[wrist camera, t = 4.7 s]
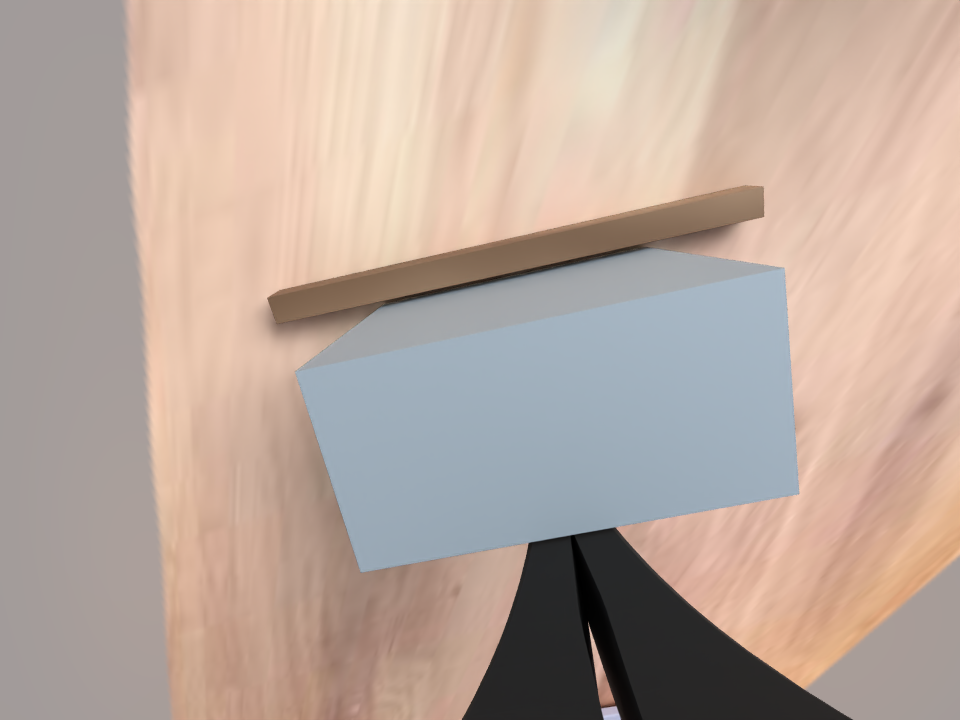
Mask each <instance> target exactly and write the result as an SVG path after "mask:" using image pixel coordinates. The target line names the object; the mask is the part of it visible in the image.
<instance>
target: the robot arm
mask: <svg viewBox="0 0 960 720" xmlns="http://www.w3.org/2000/svg"><path fill="white" fill-rule="evenodd" d="M588 623H589V625H588ZM589 626H590V629H591V632H592V635H593V638H594V641H595V644H596V647H597V650H598V653H599V656H600V659H601V662H602V665H603V668H604V671H605V674H606V677H607V680H608V683H609V686H610V689H611V692H612V695H613V698H614V701H615V703H616V706H613V707H606V708H601V706H600V701H599V696H598V689H597V681H596V674H595V667H594V660H593V653H592V646H591V639H590V632H589ZM462 720H852V719H851V718H849V717H847V716H846V715H844V714H842V713H841V712H839V711H837V710H836V709H834V708H833V707H831V706H829V705H828V704H826V703H825V702H823V701H821V700H820V699H818V698H817V697H815V696H814V695H812V694H810V693H809V692H807V691H806V690H804V689H802V688H801V687H800V686H798V685H797V684H795V683H794V682H792V681H791V680H789V679H788V678H786V677H785V676H784V675H782V674H781V673H779V672H778V671H776V670H775V669H773V668H772V667H771V666H769V665H768V664H766V663H765V662H763V661H762V660H760V659H759V658H758V657H756V656H755V655H753V654H752V653H750V652H749V651H747V650H746V649H745V648H743V647H742V646H741V645H740V644H738V643H737V642H736V641H734V640H733V639H732V638H730V637H729V636H728V635H727V634H725V633H724V632H723V631H721V630H720V629H719V628H718V627H716V626H715V625H714V624H713V623H712V622H710V621H709V620H708V619H707V618H705V617H704V616H703V615H702V614H701V613H699V612H698V611H697V610H696V609H695V608H694V607H692V606H691V605H690V604H689V603H688V602H687V601H686V600H685V599H683V598H682V597H681V596H680V595H679V594H678V593H677V592H676V591H675V590H674V589H673V588H672V587H671V586H670V585H668V584H667V583H666V582H665V581H664V580H663V579H662V578H661V577H660V576H659V575H658V574H657V573H656V572H655V571H654V570H653V569H652V568H651V567H650V566H649V565H648V564H647V563H646V562H645V560H644V559H643V558H642V557H641V556H640V555H639V554H638V553H637V552H636V551H635V550H634V549H633V548H632V546H631V545H630V544H629V543H628V542H627V541H626V540H625V538H624V537H623V536H622V535H621V534H620V532H619V531H618V530H617V529H616V528H615V527H613V528H608V529H602V530H597V531H591V532H586V533H580V534H574V535H569V536H563V537H558V538H552V539H547V540H541V541H535V542H530V543H529V544H528V549H527V555H526V559H525V563H524V567H523V571H522V575H521V579H520V583H519V586H518V590H517V593H516V596H515V599H514V602H513V605H512V608H511V611H510V614H509V617H508V620H507V623H506V626H505V628H504V631H503V634H502V636H501V639H500V641H499V644H498V646H497V648H496V651H495V653H494V656H493V658H492V660H491V662H490V665H489V667H488V669H487V671H486V673H485V675H484V677H483V679H482V681H481V684H480V686H479V688H478V690H477V692H476V694H475V696H474V698H473V700H472V702H471V704H470V706H469V708H468V709H467V711H466V713H465V715H464V717H463V718H462Z"/></svg>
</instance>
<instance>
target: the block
mask: <svg viewBox="0 0 960 720" xmlns="http://www.w3.org/2000/svg"><path fill="white" fill-rule="evenodd" d="M295 373H296V376H297V379H298V382H299V385H300V388H301V391H302V395H303V398H304V401H305V404H306V407H307V410H308V413H309V416H310V419H311V422H312V425H313V428H314V431H315V434H316V437H317V440H318V443H319V447H320V450H321V453H322V456H323V459H324V462H325V465H326V468H327V471H328V474H329V477H330V480H331V483H332V486H333V489H334V492H335V495H336V499H337V502H338V505H339V508H340V511H341V514H342V517H343V520H344V523H345V526H346V529H347V532H348V535H349V538H350V541H351V544H352V547H353V550H354V554H355V557H356V560H357V563H358V566H359V569H360V572H361V573H362V572H368V571H374V570H379V569H385V568H390V567H396V566H402V565H407V564H413V563H418V562H424V561H429V560H435V559H441V558H446V557H452V556H457V555H463V554H468V553H474V552H480V551H485V550H491V549H496V548H502V547H507V546H513V545H519V544H524V543H530V542H535V541H541V540H547V539H552V538H558V537H563V536H569V535H574V534H580V533H586V532H591V531H597V530H602V529H608V528H613V527H619V526H625V525H630V524H636V523H641V522H647V521H652V520H658V519H664V518H669V517H675V516H680V515H686V514H692V513H697V512H703V511H708V510H714V509H719V508H725V507H731V506H736V505H742V504H747V503H753V502H758V501H764V500H770V499H775V498H781V497H786V496H792V495H797V494H799V483H798V468H797V452H796V437H795V422H794V406H793V391H792V376H791V360H790V345H789V330H788V314H787V299H786V284H785V269H784V268H781V267H775V266H768V265H761V264H755V263H748V262H741V261H735V260H728V259H721V258H715V257H708V256H702V255H695V254H688V253H682V252H675V251H668V250H662V249H655V248H649V247H640V248H635V249H631V250H626V251H622V252H617V253H612V254H608V255H603V256H599V257H594V258H590V259H585V260H581V261H576V262H571V263H567V264H562V265H558V266H553V267H549V268H544V269H540V270H535V271H530V272H526V273H521V274H517V275H512V276H508V277H503V278H499V279H494V280H490V281H485V282H480V283H476V284H471V285H467V286H462V287H458V288H453V289H449V290H444V291H439V292H435V293H430V294H426V295H421V296H417V297H412V298H408V299H403V300H398V301H394V302H389V303H385V304H384V305H382V306H381V307H380V308H378V309H377V310H376V311H374V312H373V313H372V314H370V315H369V316H368V317H366V318H365V319H364V320H362V321H361V322H360V323H359V324H357V325H356V326H355V327H353V328H352V329H351V330H349V331H348V332H347V333H345V334H344V335H343V336H341V337H340V338H339V339H338V340H336V341H335V342H334V343H332V344H331V345H330V346H328V347H327V348H326V349H324V350H323V351H322V352H320V353H319V354H318V355H316V356H315V357H314V358H313V359H311V360H310V361H309V362H307V363H306V364H305V365H303V366H302V367H301V368H299V369H298V370H297V371H295Z"/></svg>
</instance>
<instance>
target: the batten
mask: <svg viewBox="0 0 960 720" xmlns="http://www.w3.org/2000/svg"><path fill="white" fill-rule="evenodd" d="M762 217H764V188H763V187H762V186H741V187H736V188H732V189H727V190H723V191H719V192H714V193H710V194H705V195H701V196H696V197H692V198H687V199H683V200H679V201H674V202H670V203H665V204H661V205H656V206H652V207H647V208H643V209H639V210H634V211H630V212H625V213H621V214H616V215H612V216H608V217H603V218H599V219H594V220H590V221H585V222H581V223H576V224H572V225H568V226H563V227H559V228H554V229H550V230H545V231H541V232H536V233H532V234H528V235H523V236H519V237H514V238H510V239H505V240H501V241H496V242H492V243H488V244H483V245H479V246H474V247H470V248H465V249H461V250H456V251H452V252H448V253H443V254H439V255H434V256H430V257H425V258H421V259H417V260H412V261H408V262H403V263H399V264H394V265H390V266H385V267H381V268H377V269H372V270H368V271H363V272H359V273H354V274H350V275H345V276H341V277H337V278H332V279H328V280H323V281H319V282H314V283H310V284H305V285H301V286H297V287H292V288H288V289H283V290H280V291H278V292H276V293H275V294H273V295H271V296H270V297H268V298H267V299H268V302H269V304H270V307H271V310H272V312H273V315H274V318H275V320H276V323H277V324H280V323H284V322H289V321H294V320H298V319H303V318H307V317H312V316H316V315H321V314H325V313H330V312H334V311H339V310H343V309H348V308H353V307H357V306H362V305H366V304H371V303H375V302H380V301H384V300H389V299H393V298H398V297H403V296H407V295H412V294H416V293H421V292H425V291H430V290H434V289H439V288H443V287H448V286H453V285H457V284H462V283H466V282H471V281H475V280H480V279H484V278H489V277H493V276H498V275H503V274H507V273H512V272H516V271H521V270H525V269H530V268H534V267H539V266H543V265H548V264H553V263H557V262H562V261H566V260H571V259H575V258H580V257H584V256H589V255H593V254H598V253H603V252H607V251H612V250H616V249H621V248H625V247H630V246H634V245H639V244H643V243H648V242H653V241H657V240H662V239H666V238H671V237H675V236H680V235H684V234H689V233H693V232H698V231H703V230H707V229H712V228H716V227H721V226H725V225H730V224H734V223H739V222H743V221H748V220H753V219H757V218H762Z"/></svg>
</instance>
